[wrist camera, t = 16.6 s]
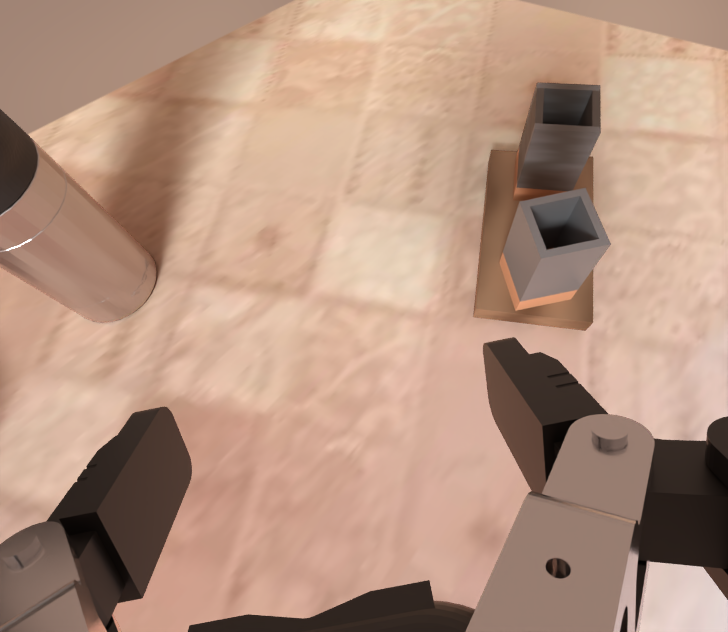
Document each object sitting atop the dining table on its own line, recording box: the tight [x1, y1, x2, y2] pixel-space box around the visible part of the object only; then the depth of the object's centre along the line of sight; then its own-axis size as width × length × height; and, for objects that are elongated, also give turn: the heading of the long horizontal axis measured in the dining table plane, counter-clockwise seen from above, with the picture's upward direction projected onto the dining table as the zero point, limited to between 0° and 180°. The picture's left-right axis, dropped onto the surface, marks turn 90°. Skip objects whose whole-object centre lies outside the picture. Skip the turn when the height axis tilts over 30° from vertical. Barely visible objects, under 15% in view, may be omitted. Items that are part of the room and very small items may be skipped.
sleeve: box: [499, 188, 611, 311], centre depth 39 cm, size 5×5×10 cm
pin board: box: [473, 83, 601, 331], centre depth 42 cm, size 10×18×12 cm, turn 170°
